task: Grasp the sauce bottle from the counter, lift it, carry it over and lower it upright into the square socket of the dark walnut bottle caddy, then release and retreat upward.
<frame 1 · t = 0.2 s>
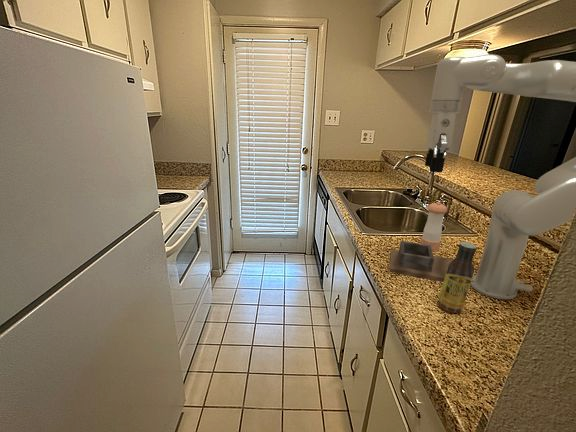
hand: (432, 168, 87), 36 cm above the worktop, tool pointing down, fingers open, 9 cm apart
sauce bottle: (449, 308, 83), on the worktop
pepper shaker: (429, 246, 121), on the worktop
bottle caddy: (422, 267, 104), on the worktop
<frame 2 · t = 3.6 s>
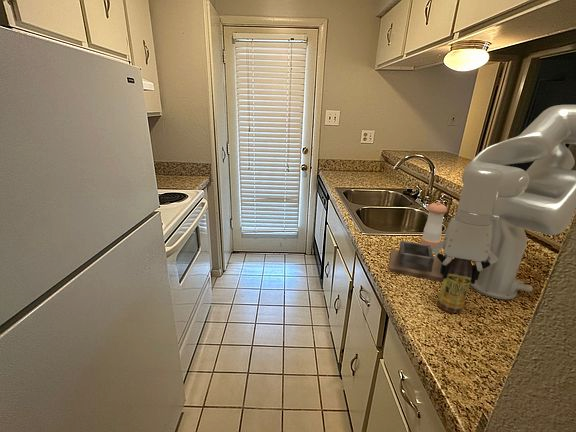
hand: (457, 278, 79), 10 cm above the worktop, tool pointing down, fingers closed on sauce bottle, 6 cm apart
sauce bottle: (450, 308, 83), on the worktop, touching gripper
everything else where it was.
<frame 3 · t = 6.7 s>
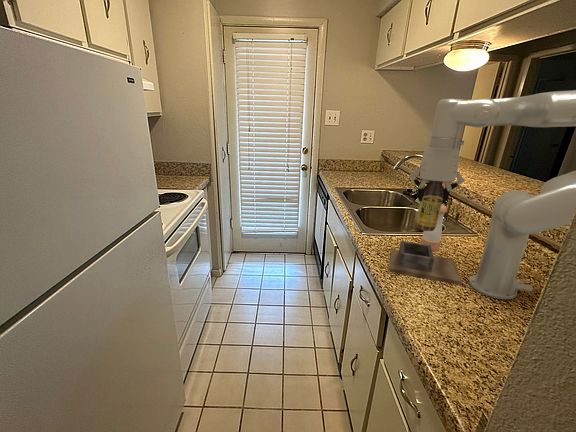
hand: (431, 200, 92), 26 cm above the worktop, tool pointing down, fingers closed on sauce bottle, 6 cm apart
sauce bottle: (425, 229, 96), point 16 cm above the worktop, touching gripper
everything else where it was.
when the fingers open (12 cm above the worktop, at t = 10.0 s): sauce bottle drops 1 cm, resting on bottle caddy.
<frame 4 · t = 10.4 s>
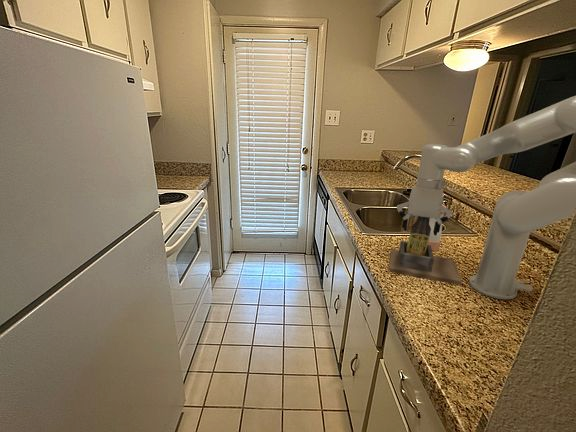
hand: (419, 231, 100), 13 cm above the worktop, tool pointing down, fingers open, 9 cm apart
sauce bottle: (413, 262, 104), point 1 cm above the worktop, touching bottle caddy
everything else where it was.
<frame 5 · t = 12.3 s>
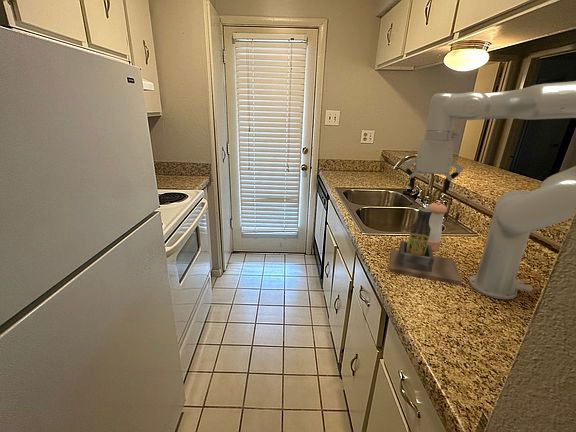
hand: (427, 190, 95), 28 cm above the worktop, tool pointing down, fingers open, 9 cm apart
nothing on the worktop moved.
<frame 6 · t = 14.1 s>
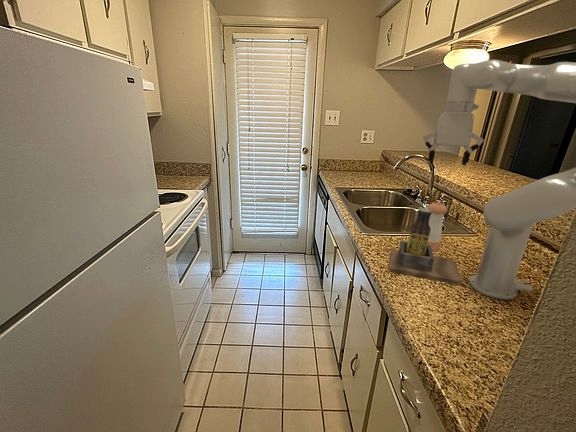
hand: (447, 163, 96), 36 cm above the worktop, tool pointing down, fingers open, 9 cm apart
nothing on the worktop moved.
at the end: sauce bottle 0.1 cm from the target spot on the bottle caddy, point 1.3 cm above the bottle caddy's base; sauce bottle tilted 0°; the gripper is holding nothing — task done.
